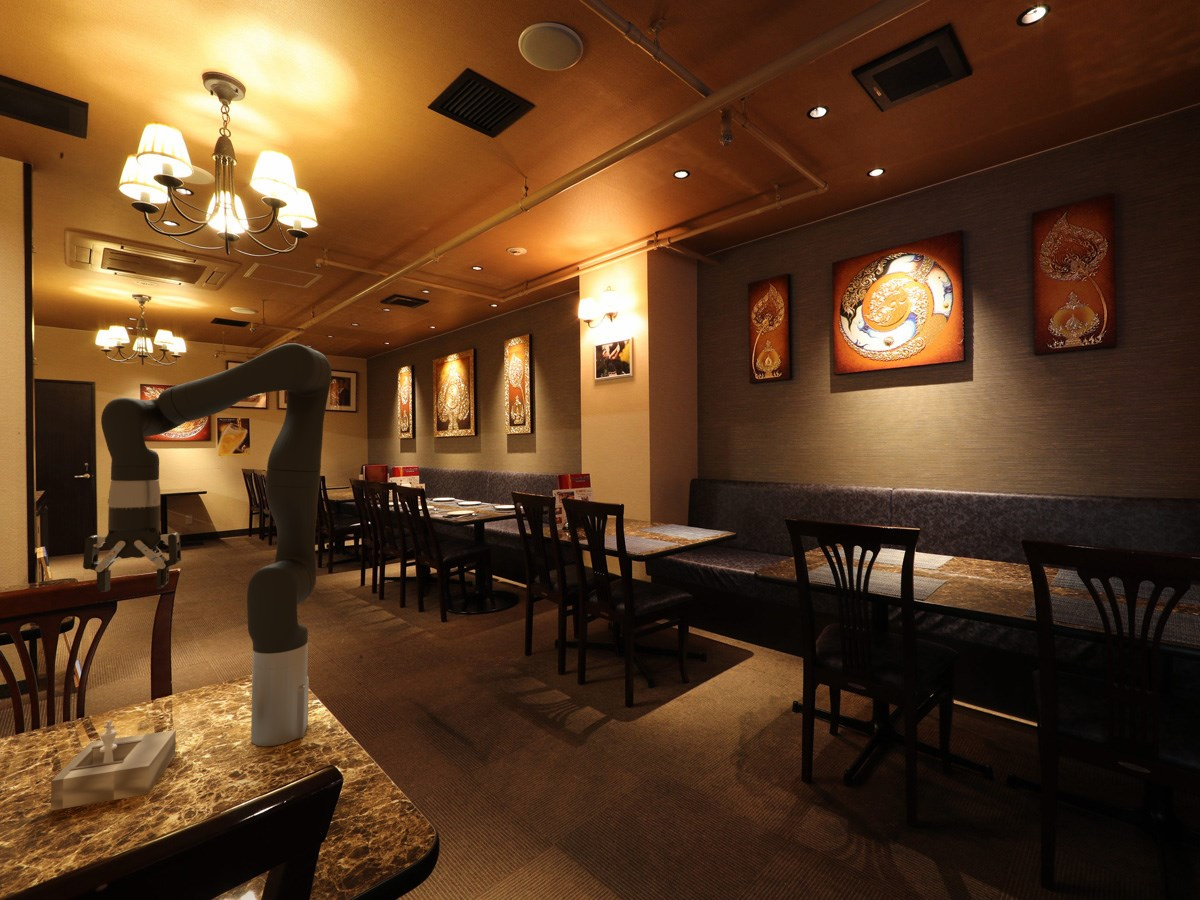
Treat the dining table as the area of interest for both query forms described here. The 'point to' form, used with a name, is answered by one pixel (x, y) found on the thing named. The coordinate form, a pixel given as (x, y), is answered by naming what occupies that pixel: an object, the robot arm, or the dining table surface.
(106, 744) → the chess piece
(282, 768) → the dining table surface
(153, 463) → the robot arm
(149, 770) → the socket block
